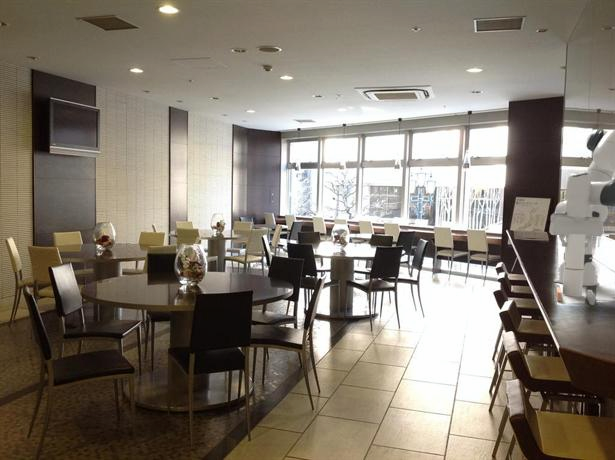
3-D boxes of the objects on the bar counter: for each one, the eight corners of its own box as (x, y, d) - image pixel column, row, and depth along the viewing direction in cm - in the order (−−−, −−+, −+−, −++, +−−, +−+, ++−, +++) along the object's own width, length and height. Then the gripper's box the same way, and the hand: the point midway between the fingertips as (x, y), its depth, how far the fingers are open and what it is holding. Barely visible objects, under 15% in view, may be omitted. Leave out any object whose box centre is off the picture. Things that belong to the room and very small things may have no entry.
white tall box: (577, 293, 222) (581, 233, 220) (584, 296, 215) (588, 234, 213) (559, 293, 222) (563, 232, 221) (566, 296, 215) (569, 233, 214)
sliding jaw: (555, 292, 222) (555, 284, 222) (558, 292, 221) (559, 285, 221) (557, 300, 203) (557, 292, 202) (561, 301, 202) (561, 292, 202)
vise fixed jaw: (586, 298, 211) (587, 289, 211) (590, 298, 211) (591, 290, 210) (590, 304, 198) (590, 295, 198) (594, 305, 198) (595, 295, 198)
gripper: (554, 212, 214) (552, 246, 214) (606, 213, 213) (604, 248, 214) (547, 211, 220) (545, 245, 221) (597, 213, 220) (595, 246, 220)
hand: (574, 246), depth 217 cm, fingers closed on white tall box, 7 cm apart
